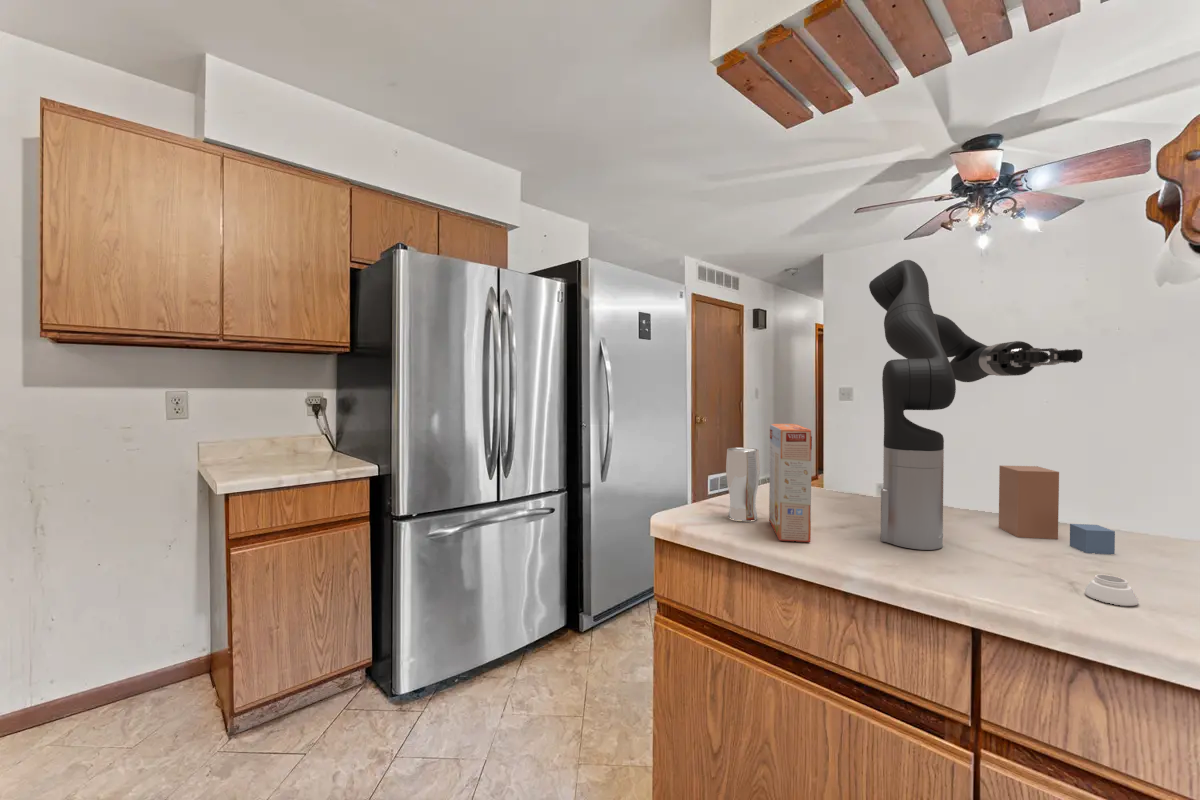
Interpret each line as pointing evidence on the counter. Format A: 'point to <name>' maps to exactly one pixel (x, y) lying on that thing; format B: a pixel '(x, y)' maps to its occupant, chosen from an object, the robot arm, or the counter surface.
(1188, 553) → the counter surface
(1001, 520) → the brown rectangular block
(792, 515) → the cracker box
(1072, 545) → the blue rectangular block
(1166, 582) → the counter surface
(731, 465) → the beer glass
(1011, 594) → the counter surface
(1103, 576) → the lidless jar
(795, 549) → the counter surface
